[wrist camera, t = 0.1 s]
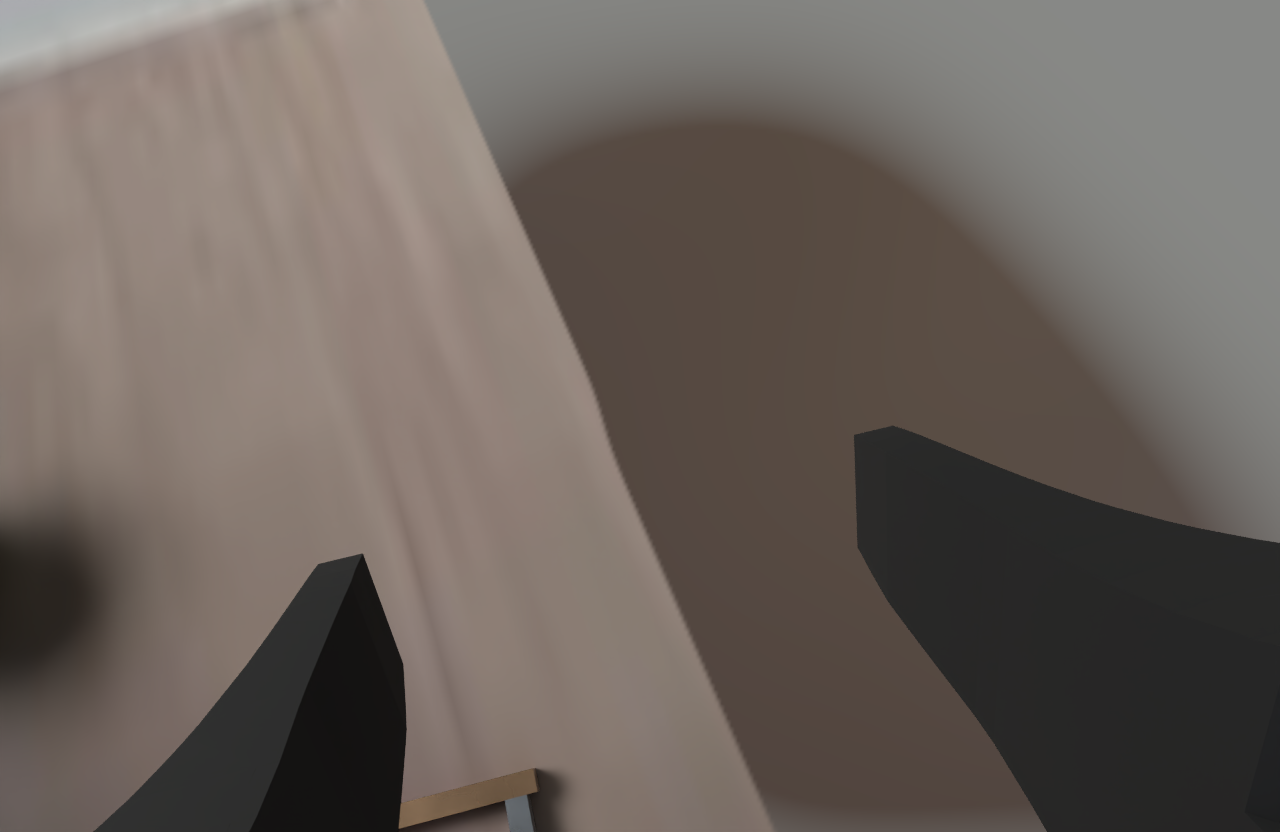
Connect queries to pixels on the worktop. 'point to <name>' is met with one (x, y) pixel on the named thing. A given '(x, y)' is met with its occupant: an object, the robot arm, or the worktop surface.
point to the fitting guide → (479, 801)
